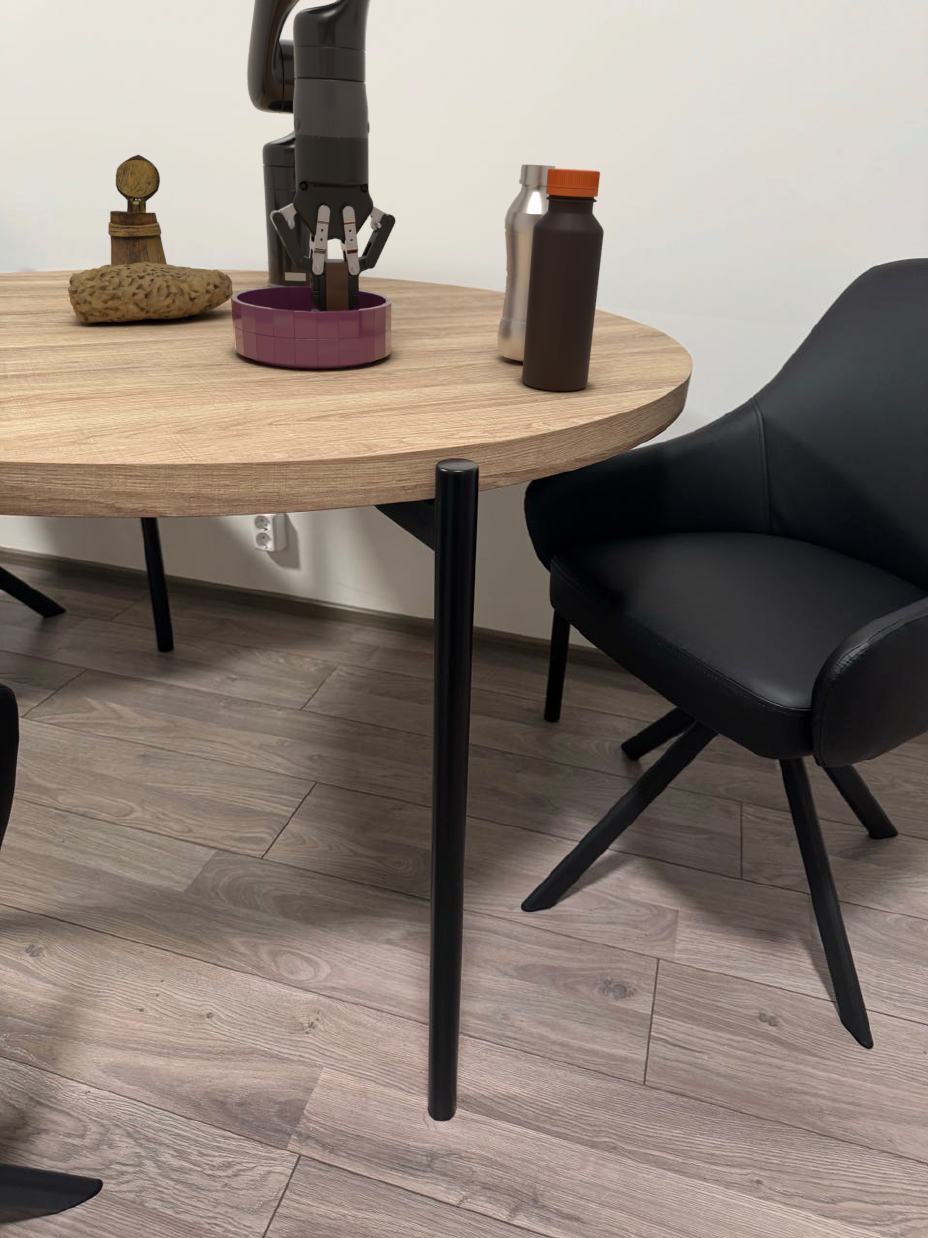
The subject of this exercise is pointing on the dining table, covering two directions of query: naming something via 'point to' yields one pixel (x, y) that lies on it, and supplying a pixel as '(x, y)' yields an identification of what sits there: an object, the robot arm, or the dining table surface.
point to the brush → (336, 284)
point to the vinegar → (563, 283)
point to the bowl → (309, 329)
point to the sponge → (146, 292)
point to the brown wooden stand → (136, 215)
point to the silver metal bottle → (521, 257)
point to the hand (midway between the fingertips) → (334, 308)
